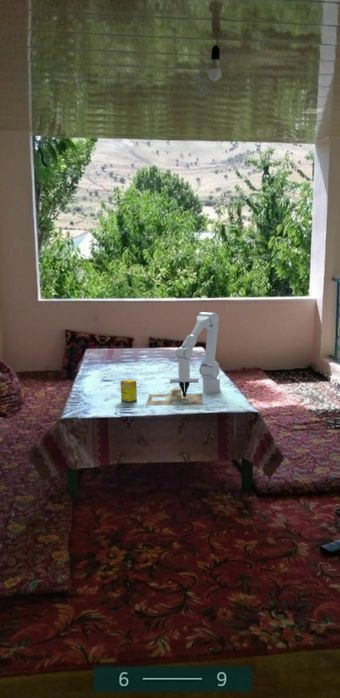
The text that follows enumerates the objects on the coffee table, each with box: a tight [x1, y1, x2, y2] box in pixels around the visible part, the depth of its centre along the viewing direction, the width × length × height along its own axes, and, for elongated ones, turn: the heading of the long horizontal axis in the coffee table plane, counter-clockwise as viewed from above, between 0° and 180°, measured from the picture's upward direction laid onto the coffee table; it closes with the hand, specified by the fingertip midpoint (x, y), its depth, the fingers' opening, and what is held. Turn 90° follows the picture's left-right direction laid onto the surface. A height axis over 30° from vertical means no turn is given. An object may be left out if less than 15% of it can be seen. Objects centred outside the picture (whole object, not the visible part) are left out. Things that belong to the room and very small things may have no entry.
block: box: [170, 387, 182, 401], centre depth 268 cm, size 5×5×5 cm
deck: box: [145, 393, 204, 406], centre depth 267 cm, size 28×22×2 cm
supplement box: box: [120, 378, 138, 404], centre depth 270 cm, size 6×6×11 cm
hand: (184, 396), depth 268 cm, fingers closed
